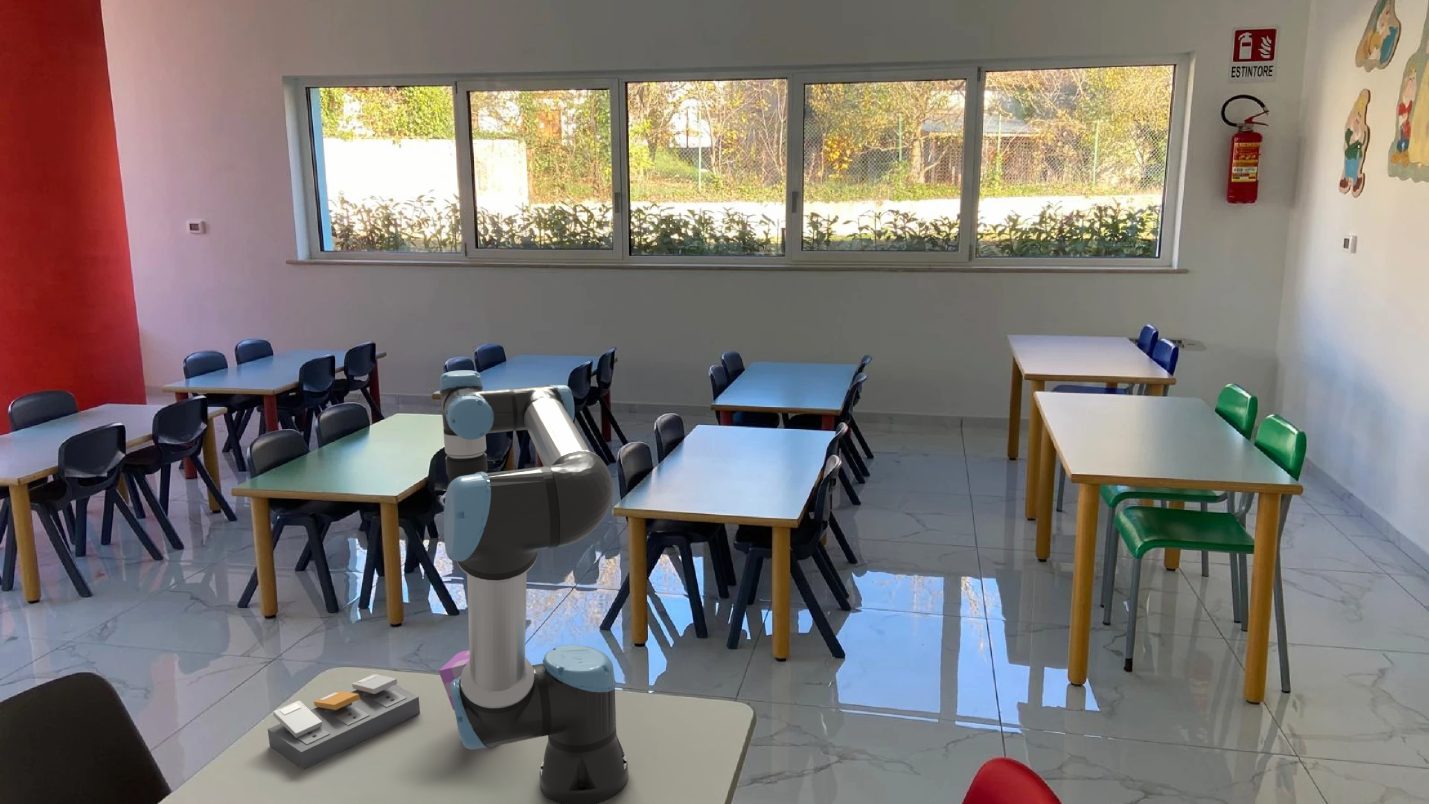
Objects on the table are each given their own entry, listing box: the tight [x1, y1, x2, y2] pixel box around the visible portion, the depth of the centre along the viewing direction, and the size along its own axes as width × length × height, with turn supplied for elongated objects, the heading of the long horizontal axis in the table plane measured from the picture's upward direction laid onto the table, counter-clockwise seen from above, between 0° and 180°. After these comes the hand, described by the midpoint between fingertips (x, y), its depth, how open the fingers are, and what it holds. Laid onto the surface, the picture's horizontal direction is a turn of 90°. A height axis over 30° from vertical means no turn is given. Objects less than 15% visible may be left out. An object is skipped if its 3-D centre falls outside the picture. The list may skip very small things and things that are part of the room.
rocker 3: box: [351, 673, 398, 694], centre depth 192 cm, size 8×5×1 cm, turn 50°
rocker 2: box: [313, 690, 360, 710], centre depth 186 cm, size 8×5×1 cm, turn 50°
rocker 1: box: [273, 699, 322, 738], centre depth 180 cm, size 8×5×1 cm, turn 51°
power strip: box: [267, 684, 421, 771], centre depth 185 cm, size 12×24×4 cm, turn 141°
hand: (474, 572), depth 188 cm, fingers closed
